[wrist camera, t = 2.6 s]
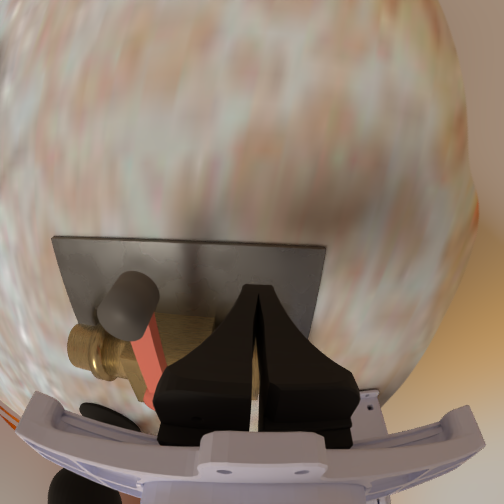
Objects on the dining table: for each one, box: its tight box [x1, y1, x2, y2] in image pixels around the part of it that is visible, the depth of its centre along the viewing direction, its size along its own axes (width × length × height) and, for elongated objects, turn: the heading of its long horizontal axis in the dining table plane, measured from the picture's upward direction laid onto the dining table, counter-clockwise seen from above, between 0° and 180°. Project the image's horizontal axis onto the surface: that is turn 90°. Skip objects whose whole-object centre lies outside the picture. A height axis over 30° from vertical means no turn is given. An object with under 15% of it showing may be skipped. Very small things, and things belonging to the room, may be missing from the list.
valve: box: [51, 236, 326, 402], centre depth 20 cm, size 21×16×6 cm
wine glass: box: [48, 403, 140, 504], centre depth 24 cm, size 10×10×20 cm
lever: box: [97, 271, 167, 410], centre depth 14 cm, size 12×3×2 cm, turn 178°
